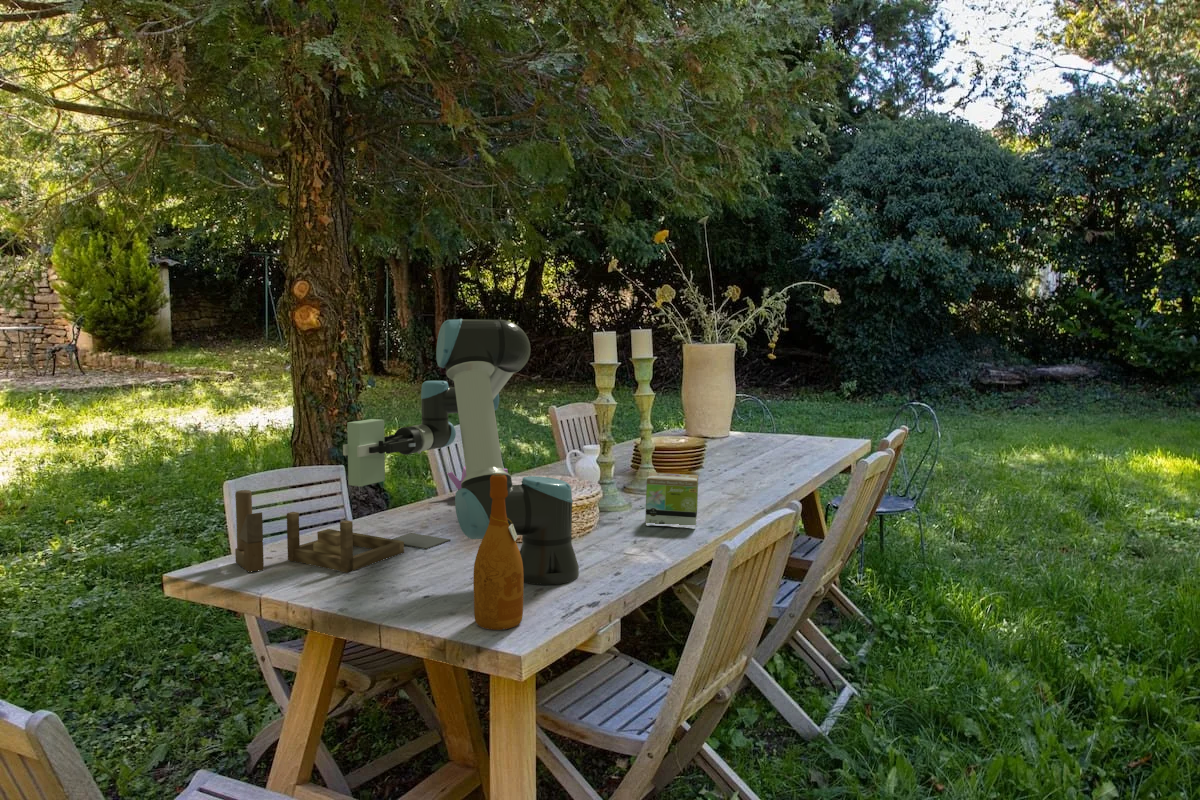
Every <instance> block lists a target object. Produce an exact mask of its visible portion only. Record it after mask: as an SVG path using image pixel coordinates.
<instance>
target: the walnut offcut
mask: <svg viewBox="0 0 1200 800" xmlns="http://www.w3.org/2000/svg"><path fill="white" fill-rule="evenodd" d="M316 534H317V540H318V542H319V543H324V544H328V545H333V546H340V530H335V529H331V528H327V529H323V530H321V531H320V530H319V531H317V533H316Z"/></svg>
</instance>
